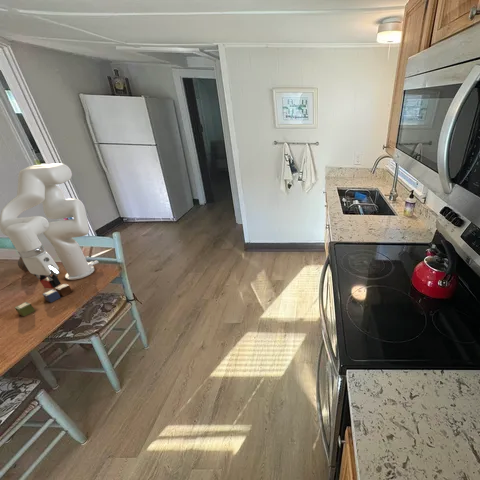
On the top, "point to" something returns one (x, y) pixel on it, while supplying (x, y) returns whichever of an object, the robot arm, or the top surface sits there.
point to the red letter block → (46, 283)
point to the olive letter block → (24, 309)
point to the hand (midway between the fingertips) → (52, 285)
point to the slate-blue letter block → (51, 295)
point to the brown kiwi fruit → (22, 264)
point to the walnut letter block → (63, 289)
